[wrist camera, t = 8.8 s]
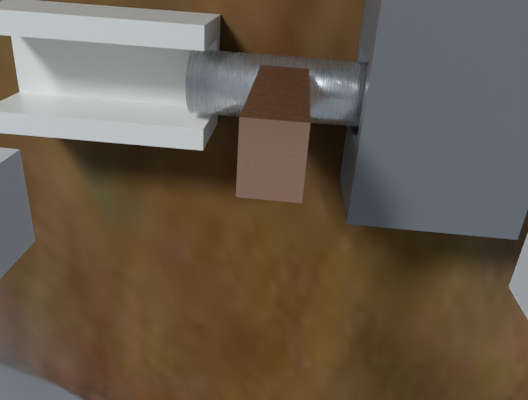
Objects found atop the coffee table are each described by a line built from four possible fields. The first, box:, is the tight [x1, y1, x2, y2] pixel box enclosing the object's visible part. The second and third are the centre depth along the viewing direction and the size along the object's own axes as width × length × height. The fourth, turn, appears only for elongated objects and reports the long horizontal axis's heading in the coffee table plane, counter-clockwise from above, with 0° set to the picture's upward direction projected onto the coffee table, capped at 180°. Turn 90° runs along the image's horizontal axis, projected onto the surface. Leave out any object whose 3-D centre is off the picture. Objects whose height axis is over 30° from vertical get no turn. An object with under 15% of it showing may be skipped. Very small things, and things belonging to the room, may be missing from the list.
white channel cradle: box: [0, 0, 220, 151], centre depth 28 cm, size 6×12×5 cm, turn 86°
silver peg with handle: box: [186, 50, 369, 203], centre depth 23 cm, size 3×16×12 cm, turn 86°
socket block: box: [340, 0, 528, 240], centre depth 27 cm, size 12×9×6 cm
